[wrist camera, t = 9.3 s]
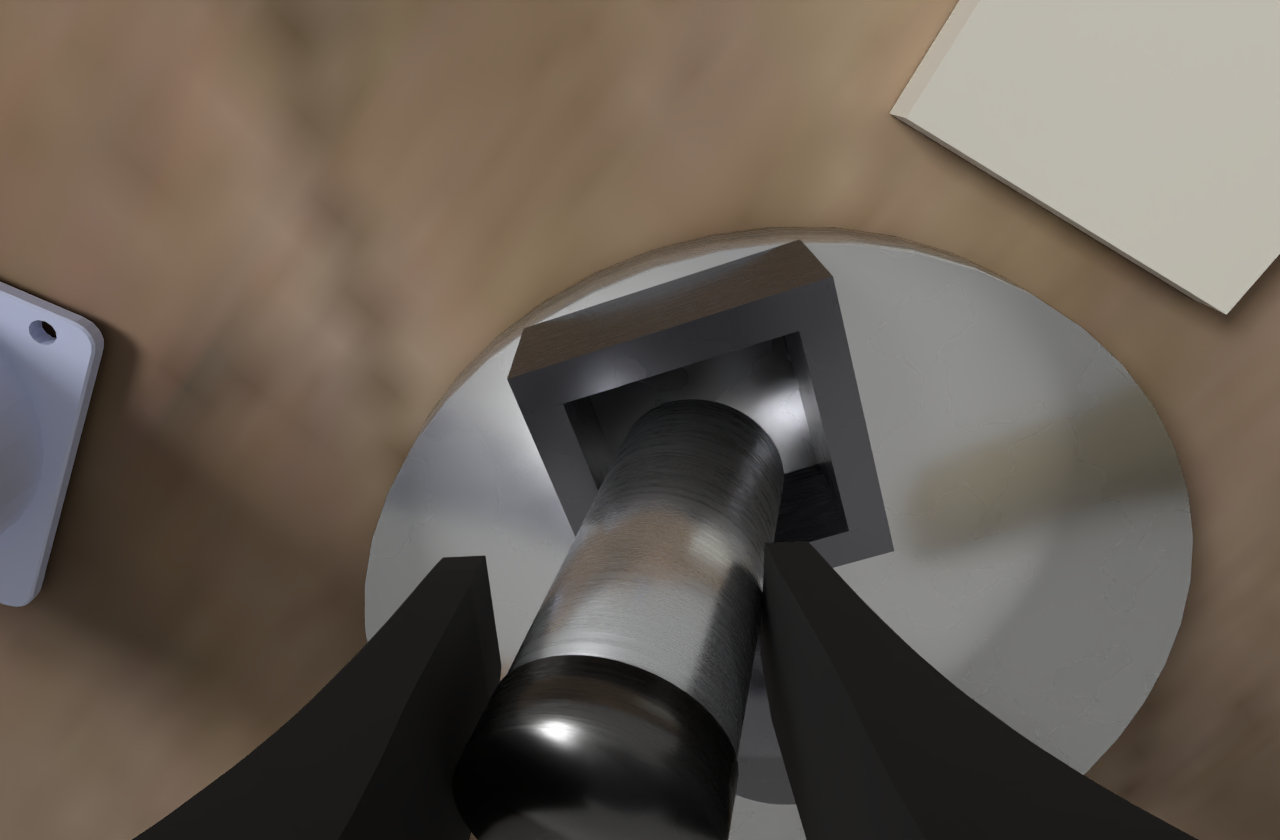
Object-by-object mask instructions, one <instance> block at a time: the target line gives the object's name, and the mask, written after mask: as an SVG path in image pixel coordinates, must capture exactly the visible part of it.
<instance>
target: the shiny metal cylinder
mask: <svg viewBox="0 0 1280 840" xmlns="http://www.w3.org/2000/svg"><path fill="white" fill-rule="evenodd" d="M783 482H784V470H783V465H782V460H781V457H780V454H779V452H778V450H777V448H776V446H775V444H774V442H773V441H772V439H771V438H770V436H769V435H768V434H767V433H766V432H765V431H764V429H763V428H762V427H761V426H760V425H759V424H757V423H756V422H755V421H754V420H753V419H751V418H750V417H748V416H747V415H745V414H744V413H742V412H740V411H738V410H736V409H734V408H732V407H730V406H727V405H725V404H721V403H718V402H714V401H709V400H702V399H683V400H676V401H671V402H667V403H664V404H662V405H659V406H657V407H655V408H653V409H651V410H649V411H648V412H646V413H645V414H643V415H642V416H641V417H640V418H639V419H638V420H637V421H636V422H635V423H634V424H633V426H632V427H631V428H630V430H629V432H628V433H627V435H626V437H625V439H624V441H623V443H622V445H621V447H620V449H619V451H618V453H617V455H616V457H615V459H614V461H613V463H612V465H611V467H610V469H609V471H608V473H607V475H606V477H605V479H604V481H603V483H602V485H601V487H600V489H599V491H598V493H597V495H596V497H595V499H594V501H593V503H592V505H591V507H590V509H589V511H588V513H587V515H586V517H585V519H584V521H583V523H582V525H581V527H580V529H579V531H578V533H577V535H576V537H575V539H574V541H573V543H572V545H571V547H570V549H569V551H568V553H567V555H566V557H565V559H564V561H563V563H562V565H561V567H560V569H559V571H558V573H557V575H556V577H555V579H554V581H553V583H552V585H551V587H550V589H549V591H548V593H547V595H546V597H545V599H544V601H543V603H542V605H541V607H540V609H539V611H538V613H537V615H536V617H535V619H534V621H533V623H532V625H531V627H530V629H529V631H528V633H527V635H526V637H525V639H524V641H523V643H522V645H521V647H520V649H519V651H518V653H517V655H516V657H515V659H514V661H513V663H512V665H511V667H510V669H509V671H508V673H507V675H506V676H505V677H504V678H503V679H502V680H501V681H500V682H499V684H498V685H497V686H496V688H495V690H494V692H493V693H492V695H491V697H490V699H489V701H488V703H487V705H486V707H485V709H484V711H483V713H482V715H481V717H480V719H479V721H478V723H477V725H476V727H475V729H474V731H473V733H472V735H471V737H470V739H469V741H468V743H467V745H466V747H465V749H464V751H463V753H462V755H461V757H460V758H459V760H458V762H457V764H456V766H455V770H454V773H453V780H452V789H453V796H454V800H455V803H456V806H457V809H458V811H459V813H460V815H461V817H462V819H463V821H464V822H465V824H466V825H467V826H468V828H469V829H470V831H471V832H472V833H473V835H474V836H475V837H476V838H477V839H478V840H728V839H729V833H730V827H731V820H732V814H733V808H734V802H735V796H736V790H737V783H738V776H739V771H738V761H737V757H738V751H739V745H740V739H741V733H742V727H743V721H744V716H745V710H746V704H747V698H748V692H749V686H750V680H751V674H752V668H753V662H754V656H755V650H756V644H757V638H758V632H759V626H760V620H761V614H762V607H763V572H764V545H765V543H774V537H775V531H776V525H777V519H778V513H779V507H780V501H781V495H782V489H783Z"/></svg>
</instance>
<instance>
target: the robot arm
mask: <svg viewBox="0 0 1280 840" xmlns="http://www.w3.org/2000/svg"><path fill="white" fill-rule="evenodd" d="M42 321H45V322H47V323H48V324H50V325H51V326H52V327H53V328H54V330H55V331H56V337H57V338H54V337H52V336H50V335H49V334H47V333H46V332H45V330H44V329H43V327H42ZM103 349H104V339H103V336H102V334H101V331H100V330H99V329H98V328H97V327H96V325H95V324H94V323H93V322H91V321H89V320H88V319H86V318H84V317H82V316H80V315H78V314H75V313H73V312H71V311H68V310H66V309H64V308H61V307H59V306H56V305H54V304H52V303H49V302H47V301H45V300H42V299H40V298H38V297H35V296H33V295H31V294H28V293H26V292H24V291H21V290H19V289H17V288H14V287H12V286H9V285H7V284H5V283H2V282H0V603H2V604H5V605H9V606H14V607H19V606H24V605H26V604H28V603H30V602H31V601H32V600H33V599H34V598H35V597H36V596H37V595H38V594H39V592H40V590H41V587H42V583H43V580H44V576H45V572H46V568H47V564H48V560H49V556H50V553H51V549H52V545H53V541H54V537H55V533H56V530H57V526H58V522H59V518H60V514H61V510H62V507H63V503H64V499H65V495H66V491H67V487H68V484H69V480H70V476H71V472H72V468H73V464H74V461H75V457H76V453H77V449H78V445H79V441H80V437H81V434H82V430H83V426H84V422H85V418H86V414H87V411H88V407H89V403H90V399H91V395H92V391H93V388H94V384H95V380H96V376H97V372H98V368H99V365H100V361H101V357H102V353H103ZM760 655H761V661H762V667H763V673H764V679H765V686H766V692H767V697H768V703H769V709H770V714H771V720H772V723H773V727H774V730H775V734H776V737H777V741H778V744H779V748H780V751H781V755H782V758H783V762H784V765H785V768H786V772H787V775H788V779H789V782H790V786H791V789H792V792H793V796H794V799H795V802H796V806H797V809H798V813H799V816H800V819H801V823H802V826H803V830H804V833H805V836H806V840H1198V839H1196V838H1194V837H1192V836H1190V835H1188V834H1187V833H1185V832H1183V831H1181V830H1179V829H1177V828H1176V827H1174V826H1172V825H1170V824H1168V823H1166V822H1164V821H1163V820H1161V819H1159V818H1157V817H1155V816H1153V815H1152V814H1150V813H1148V812H1146V811H1144V810H1142V809H1141V808H1139V807H1137V806H1135V805H1133V804H1131V803H1130V802H1128V801H1126V800H1125V799H1123V798H1121V797H1119V796H1118V795H1116V794H1114V793H1113V792H1111V791H1109V790H1107V789H1106V788H1104V787H1102V786H1101V785H1099V784H1097V783H1095V782H1094V781H1092V780H1090V779H1089V778H1087V777H1086V776H1084V775H1083V774H1081V773H1079V772H1078V771H1076V770H1075V769H1073V768H1072V767H1070V766H1068V765H1067V764H1065V763H1064V762H1062V761H1061V760H1059V759H1057V758H1056V757H1054V756H1053V755H1051V754H1050V753H1048V752H1046V751H1045V750H1043V749H1042V748H1040V747H1039V746H1037V745H1036V744H1034V743H1033V742H1031V741H1030V740H1028V739H1027V738H1025V737H1024V736H1022V735H1021V734H1020V733H1018V732H1017V731H1015V730H1014V729H1012V728H1011V727H1010V726H1008V725H1007V724H1005V723H1004V722H1003V721H1001V720H1000V719H999V718H997V717H996V716H995V715H993V714H992V713H991V712H989V711H988V710H987V709H985V708H984V707H983V706H981V705H980V704H978V703H977V702H976V701H974V700H973V699H972V698H970V697H969V696H968V695H966V694H965V693H964V692H963V691H961V690H960V689H959V688H958V687H956V686H955V685H954V684H953V683H951V682H950V681H949V680H948V679H947V678H945V677H944V676H943V675H942V674H941V673H940V672H938V671H937V670H936V669H935V668H934V667H933V666H932V665H930V664H929V663H928V662H927V661H926V660H925V659H923V658H922V657H921V656H920V655H919V654H918V653H917V652H916V651H915V650H913V649H912V648H911V647H910V646H909V645H908V644H907V643H906V642H905V641H904V640H903V639H902V638H901V637H900V636H899V635H898V634H896V633H895V632H894V631H893V630H892V629H891V628H890V627H889V626H888V625H887V624H886V623H885V622H884V621H883V620H882V619H881V618H880V617H879V616H878V615H877V614H876V613H875V612H874V611H873V610H872V609H871V608H870V607H869V606H868V605H867V604H866V603H865V602H864V601H863V600H862V599H861V598H860V597H859V596H858V595H857V594H856V593H855V591H854V590H853V589H852V588H851V587H850V586H849V585H848V584H847V583H846V582H845V581H844V580H843V579H842V578H841V576H840V575H839V574H838V573H837V572H836V571H835V570H834V569H833V568H832V567H831V566H830V564H829V563H828V562H827V561H826V560H825V559H824V558H823V557H822V556H821V555H820V553H819V552H818V551H817V550H816V549H815V548H814V547H813V546H812V545H811V544H810V543H809V542H808V541H797V542H775V543H765V545H764V572H763V607H762V625H761V651H760ZM501 667H502V666H501V659H500V652H499V645H498V638H497V631H496V625H495V618H494V611H493V604H492V597H491V590H490V583H489V576H488V570H487V563H486V556H463V557H443V558H442V559H441V560H440V561H439V562H438V563H437V564H436V565H435V566H434V567H433V568H432V570H431V571H430V572H429V573H428V574H427V575H426V577H425V578H424V579H423V580H422V581H421V582H420V584H419V585H418V586H417V587H416V588H415V589H414V591H413V592H412V593H411V594H410V595H409V596H408V598H407V599H406V600H405V601H404V602H403V603H402V605H401V606H400V607H399V608H398V609H397V610H396V611H395V613H394V614H393V615H392V616H391V617H390V618H389V619H388V621H387V622H386V623H385V624H384V625H383V626H382V627H381V628H380V629H379V630H378V632H377V633H376V634H375V635H374V636H373V637H372V638H371V639H370V640H369V641H368V643H367V644H366V645H365V646H364V647H363V648H362V649H361V650H360V651H359V652H358V653H357V655H356V656H355V657H354V658H353V659H352V660H351V661H350V662H349V663H348V664H347V665H346V666H345V667H344V668H343V669H342V670H341V671H340V672H339V673H338V674H337V675H336V676H335V677H334V678H333V679H332V680H331V681H330V682H329V683H328V684H327V685H326V686H325V687H324V688H323V689H322V690H321V691H320V692H319V693H318V694H317V695H316V696H315V697H314V698H313V699H312V700H311V701H310V702H309V703H308V704H307V705H305V706H304V707H303V708H302V709H301V710H300V711H299V712H298V713H297V714H296V715H295V716H294V717H292V718H291V719H290V720H289V721H288V722H287V723H286V724H284V725H283V726H282V727H281V728H280V729H279V730H278V731H276V732H275V733H274V734H273V735H272V736H270V737H269V738H268V739H267V740H266V741H264V742H263V743H262V744H261V745H260V746H258V747H257V748H256V749H255V750H254V751H252V752H251V753H250V754H249V755H248V756H246V757H245V758H244V759H243V760H241V761H240V762H239V763H238V764H236V765H235V766H234V767H233V768H231V769H230V770H229V771H227V772H226V773H225V774H223V775H222V776H220V777H219V778H218V779H216V780H215V781H214V782H212V783H211V784H210V785H208V786H207V787H206V788H204V789H203V790H201V791H200V792H199V793H197V794H196V795H195V796H193V797H192V798H191V799H189V800H188V801H187V802H185V803H184V804H182V805H181V806H180V807H178V808H177V809H176V810H174V811H173V812H172V813H170V814H169V815H168V816H166V817H165V818H163V819H162V820H161V821H159V822H158V823H156V824H155V825H153V826H152V827H150V828H149V829H147V830H146V831H144V832H143V833H141V834H140V835H138V836H137V837H135V838H134V839H132V840H469V839H470V835H471V831H470V829H469V828H468V826H467V825H466V824H465V822H464V821H463V819H462V817H461V815H460V813H459V811H458V809H457V806H456V803H455V800H454V796H453V789H452V780H453V773H454V770H455V766H456V764H457V762H458V760H459V758H460V757H461V755H462V753H463V751H464V749H465V747H466V745H467V743H468V741H469V739H470V737H471V735H472V733H473V731H474V729H475V727H476V725H477V723H478V721H479V719H480V717H481V715H482V713H483V711H484V709H485V707H486V705H487V703H488V701H489V699H490V697H491V695H492V693H493V692H494V690H495V688H496V686H497V685H498V684H499V682H500V676H501Z"/></svg>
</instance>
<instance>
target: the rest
mask: <svg viewBox="0 0 1280 840" xmlns="http://www.w3.org/2000/svg"><path fill="white" fill-rule="evenodd" d="M890 114H891V115H893V116H894V117H896V118H898V119H899V120H901V121H903V122H904V123H906V124H908V125H909V126H911V127H912V128H914V129H916V130H917V131H919V132H921V133H922V134H924V135H926V136H927V137H929V138H930V139H932V140H934V141H935V142H937V143H939V144H940V145H942V146H943V147H945V148H947V149H948V150H950V151H952V152H953V153H955V154H957V155H958V156H960V157H961V158H963V159H965V160H966V161H968V162H970V163H971V164H973V165H975V166H976V167H978V168H979V169H981V170H983V171H984V172H986V173H988V174H989V175H991V176H993V177H994V178H996V179H997V180H999V181H1001V182H1002V183H1004V184H1006V185H1007V186H1009V187H1010V188H1012V189H1014V190H1015V191H1017V192H1019V193H1020V194H1022V195H1024V196H1025V197H1027V198H1028V199H1030V200H1032V201H1033V202H1035V203H1037V204H1038V205H1040V206H1042V207H1043V208H1045V209H1046V210H1048V211H1050V212H1051V213H1053V214H1055V215H1056V216H1058V217H1060V218H1061V219H1063V220H1064V221H1066V222H1068V223H1069V224H1071V225H1073V226H1074V227H1076V228H1077V229H1079V230H1081V231H1082V232H1084V233H1086V234H1087V235H1089V236H1091V237H1092V238H1094V239H1095V240H1097V241H1099V242H1100V243H1102V244H1104V245H1105V246H1107V247H1109V248H1110V249H1112V250H1113V251H1115V252H1117V253H1118V254H1120V255H1122V256H1123V257H1125V258H1127V259H1128V260H1130V261H1131V262H1133V263H1135V264H1136V265H1138V266H1140V267H1141V268H1143V269H1145V270H1146V271H1148V272H1149V273H1151V274H1153V275H1154V276H1156V277H1158V278H1159V279H1161V280H1162V281H1164V282H1166V283H1167V284H1169V285H1171V286H1172V287H1174V288H1176V289H1177V290H1179V291H1180V292H1182V293H1184V294H1185V295H1187V296H1189V297H1190V298H1192V299H1194V300H1195V301H1198V302H1200V303H1202V304H1204V305H1206V306H1208V307H1211V308H1213V309H1215V310H1217V311H1219V312H1222V313H1224V314H1226V315H1227V314H1228V313H1229V311H1230V310H1231V309H1232V308H1233V307H1234V306H1235V305H1236V303H1237V302H1238V301H1239V300H1240V299H1241V298H1242V296H1243V295H1244V294H1245V293H1246V292H1247V291H1248V290H1249V288H1250V287H1251V286H1252V285H1253V284H1254V283H1255V282H1256V280H1257V279H1258V278H1259V277H1260V276H1261V275H1262V274H1263V272H1264V271H1265V270H1266V269H1267V268H1268V267H1269V266H1270V264H1271V263H1272V262H1273V261H1274V260H1275V259H1276V258H1277V256H1278V255H1279V254H1280V0H959V2H958V3H957V5H956V7H955V8H954V10H953V11H952V13H951V15H950V16H949V18H948V20H947V21H946V23H945V24H944V26H943V28H942V29H941V31H940V32H939V34H938V36H937V37H936V39H935V41H934V42H933V44H932V45H931V47H930V49H929V50H928V52H927V53H926V55H925V57H924V58H923V60H922V62H921V63H920V65H919V66H918V68H917V70H916V71H915V73H914V74H913V76H912V78H911V79H910V81H909V83H908V84H907V86H906V87H905V89H904V91H903V92H902V94H901V95H900V97H899V99H898V100H897V102H896V104H895V105H894V107H893V108H892V110H891V112H890Z"/></svg>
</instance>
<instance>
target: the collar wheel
mask: <svg viewBox="0 0 1280 840" xmlns="http://www.w3.org/2000/svg"><path fill="white" fill-rule="evenodd" d="M683 399H702V400H709V401H714V402H718V403H721V404H725V405H727V406H730V407H732V408H734V409H736V410H738V411H740V412H742V413H744V414H745V415H747V416H748V417H750V418H751V419H753V420H754V421H755V422H756V423H757V424H759V425H760V426H761V427H762V428H763V429H764V431H765V432H766V433H767V434H768V435H769V436H770V438H771V439H772V441H773V442H774V444H775V446H776V448H777V450H778V452H779V454H780V457H781V460H782V465H783V470H784V482H783V489H782V495H781V501H780V507H779V513H778V519H777V525H776V531H775V537H774V543H775V542H797V541H808V542H809V543H810V544H811V545H812V546H813V547H814V548H815V549H816V550H817V551H818V552H819V553H820V555H821V556H822V557H823V558H824V559H825V560H826V561H827V562H828V563H829V564H830V566H831V567H832V568H833V569H834V570H835V571H836V572H837V573H838V574H839V575H840V576H841V578H842V579H843V580H844V581H845V582H846V583H847V584H848V585H849V586H850V587H851V588H852V589H853V590H854V591H855V593H856V594H857V595H858V596H859V597H860V598H861V599H862V600H863V601H864V602H865V603H866V604H867V605H868V606H869V607H870V608H871V609H872V610H873V611H874V612H875V613H876V614H877V615H878V616H879V617H880V618H881V619H882V620H883V621H884V622H885V623H886V624H887V625H888V626H889V627H890V628H891V629H892V630H893V631H894V632H895V633H896V634H898V635H899V636H900V637H901V638H902V639H903V640H904V641H905V642H906V643H907V644H908V645H909V646H910V647H911V648H912V649H913V650H915V651H916V652H917V653H918V654H919V655H920V656H921V657H922V658H923V659H925V660H926V661H927V662H928V663H929V664H930V665H932V666H933V667H934V668H935V669H936V670H937V671H938V672H940V673H941V674H942V675H943V676H944V677H945V678H947V679H948V680H949V681H950V682H951V683H953V684H954V685H955V686H956V687H958V688H959V689H960V690H961V691H963V692H964V693H965V694H966V695H968V696H969V697H970V698H972V699H973V700H974V701H976V702H977V703H978V704H980V705H981V706H983V707H984V708H985V709H987V710H988V711H989V712H991V713H992V714H993V715H995V716H996V717H997V718H999V719H1000V720H1001V721H1003V722H1004V723H1005V724H1007V725H1008V726H1010V727H1011V728H1012V729H1014V730H1015V731H1017V732H1018V733H1020V734H1021V735H1022V736H1024V737H1025V738H1027V739H1028V740H1030V741H1031V742H1033V743H1034V744H1036V745H1037V746H1039V747H1040V748H1042V749H1043V750H1045V751H1046V752H1048V753H1050V754H1051V755H1053V756H1054V757H1056V758H1057V759H1059V760H1061V761H1062V762H1064V763H1065V764H1067V765H1068V766H1070V767H1072V768H1073V769H1075V770H1076V771H1078V772H1079V773H1081V774H1083V775H1084V774H1085V773H1086V772H1087V771H1088V770H1089V769H1090V768H1091V767H1092V766H1093V765H1094V764H1095V763H1096V762H1097V761H1098V759H1099V758H1100V757H1101V756H1102V755H1103V754H1104V753H1105V752H1106V751H1107V750H1108V749H1109V748H1110V747H1111V745H1112V744H1113V743H1114V742H1115V741H1116V740H1117V739H1118V738H1119V736H1120V735H1121V734H1122V732H1123V731H1124V730H1125V728H1126V727H1127V725H1128V724H1129V723H1130V721H1131V720H1132V719H1133V717H1134V716H1135V715H1136V713H1137V712H1138V710H1139V709H1140V708H1141V706H1142V705H1143V704H1144V702H1145V700H1146V698H1147V697H1148V695H1149V693H1150V691H1151V689H1152V688H1153V686H1154V684H1155V682H1156V680H1157V679H1158V677H1159V675H1160V673H1161V671H1162V670H1163V668H1164V666H1165V664H1166V661H1167V659H1168V656H1169V654H1170V651H1171V648H1172V646H1173V643H1174V641H1175V638H1176V635H1177V633H1178V630H1179V628H1180V625H1181V621H1182V617H1183V612H1184V608H1185V603H1186V599H1187V595H1188V590H1189V586H1190V580H1191V563H1192V547H1193V532H1192V523H1191V514H1190V506H1189V497H1188V491H1187V487H1186V484H1185V481H1184V477H1183V474H1182V471H1181V467H1180V464H1179V461H1178V457H1177V454H1176V450H1175V448H1174V446H1173V444H1172V442H1171V440H1170V438H1169V436H1168V434H1167V432H1166V430H1165V428H1164V426H1163V424H1162V422H1161V420H1160V418H1159V416H1158V414H1157V412H1156V410H1155V408H1154V406H1153V405H1152V403H1151V402H1150V401H1149V399H1148V398H1147V397H1146V395H1145V394H1144V393H1143V391H1142V390H1141V389H1140V387H1139V386H1138V385H1137V383H1136V382H1135V381H1134V380H1133V378H1132V377H1131V376H1130V374H1129V373H1128V372H1127V370H1126V369H1125V368H1124V366H1123V365H1122V364H1121V363H1120V362H1119V361H1118V360H1117V359H1116V358H1114V357H1113V356H1112V355H1111V354H1110V353H1109V352H1108V351H1107V350H1106V349H1105V348H1104V347H1103V346H1102V345H1100V344H1099V343H1098V342H1097V341H1096V340H1095V339H1094V338H1093V337H1092V336H1091V335H1090V334H1089V333H1088V332H1086V331H1085V330H1084V329H1083V328H1082V327H1080V326H1079V325H1077V324H1076V323H1074V322H1073V321H1071V320H1070V319H1068V318H1067V317H1065V316H1064V315H1062V314H1061V313H1059V312H1058V311H1056V310H1055V309H1053V308H1052V307H1050V306H1049V305H1047V304H1046V303H1044V302H1042V301H1041V300H1039V299H1038V298H1036V297H1035V296H1033V295H1032V294H1030V293H1029V292H1027V291H1025V290H1024V289H1022V288H1021V287H1019V286H1017V285H1016V284H1014V283H1013V282H1011V281H1009V280H1008V279H1006V278H1005V277H1003V276H1001V275H999V274H997V273H995V272H993V271H990V270H988V269H986V268H984V267H982V266H980V265H977V264H975V263H973V262H971V261H969V260H966V259H964V258H962V257H960V256H958V255H955V254H953V253H951V252H948V251H944V250H941V249H938V248H934V247H931V246H927V245H924V244H920V243H917V242H914V241H910V240H907V239H903V238H900V237H896V236H891V235H884V234H877V233H870V232H863V231H856V230H849V229H842V228H835V227H769V228H760V229H752V230H744V231H736V232H728V233H720V234H712V235H708V236H704V237H700V238H696V239H692V240H688V241H684V242H681V243H677V244H673V245H669V246H665V247H661V248H657V249H653V250H650V251H648V252H645V253H643V254H640V255H638V256H635V257H633V258H630V259H628V260H625V261H623V262H620V263H618V264H615V265H613V266H610V267H608V268H605V269H603V270H600V271H598V272H595V273H593V274H591V275H590V276H588V277H586V278H584V279H583V280H581V281H579V282H577V283H575V284H574V285H572V286H570V287H568V288H567V289H565V290H563V291H561V292H560V293H558V294H556V295H554V296H552V297H551V298H549V299H547V300H545V301H544V302H542V303H541V304H539V305H538V306H537V307H535V308H534V309H533V310H531V311H530V312H529V313H527V314H526V315H525V316H523V317H522V318H521V319H520V320H518V321H517V322H516V323H514V324H513V325H512V326H510V327H509V328H508V329H506V330H505V331H504V332H502V333H501V334H500V335H498V336H497V337H496V338H495V339H494V340H493V341H492V342H491V343H490V344H489V345H488V346H487V347H486V348H485V349H484V350H483V351H482V352H481V353H480V354H479V355H478V356H477V357H476V358H475V359H474V360H473V361H472V362H471V363H470V364H469V365H468V366H467V367H466V368H465V369H464V370H463V371H462V372H461V373H460V374H459V375H458V377H457V378H456V379H455V381H454V382H453V383H452V385H451V386H450V387H449V389H448V390H447V391H446V393H445V394H444V395H443V397H442V398H441V400H440V401H439V402H438V404H437V405H436V406H435V408H434V409H433V410H432V412H431V413H430V414H429V416H428V417H427V419H426V421H425V423H424V425H423V427H422V429H421V431H420V432H419V434H418V436H417V438H416V440H415V442H414V444H413V446H412V448H411V449H410V451H409V453H408V455H407V457H406V459H405V461H404V463H403V465H402V467H401V469H400V471H399V473H398V475H397V477H396V479H395V481H394V482H393V484H392V486H391V488H390V490H389V492H388V495H387V498H386V501H385V504H384V507H383V510H382V512H381V515H380V518H379V521H378V524H377V527H376V530H375V533H374V536H373V539H372V544H371V550H370V557H369V563H368V569H367V575H366V581H365V631H366V637H367V643H368V641H369V640H370V639H371V638H372V637H373V636H374V635H375V634H376V633H377V632H378V630H379V629H380V628H381V627H382V626H383V625H384V624H385V623H386V622H387V621H388V619H389V618H390V617H391V616H392V615H393V614H394V613H395V611H396V610H397V609H398V608H399V607H400V606H401V605H402V603H403V602H404V601H405V600H406V599H407V598H408V596H409V595H410V594H411V593H412V592H413V591H414V589H415V588H416V587H417V586H418V585H419V584H420V582H421V581H422V580H423V579H424V578H425V577H426V575H427V574H428V573H429V572H430V571H431V570H432V568H433V567H434V566H435V565H436V564H437V563H438V562H439V561H440V560H441V559H442V558H443V557H463V556H486V563H487V570H488V576H489V583H490V590H491V597H492V604H493V611H494V618H495V625H496V631H497V638H498V645H499V652H500V659H501V666H502V667H501V676H500V681H501V680H502V679H503V678H504V677H505V676H506V675H507V673H508V671H509V669H510V667H511V665H512V663H513V661H514V659H515V657H516V655H517V653H518V651H519V649H520V647H521V645H522V643H523V641H524V639H525V637H526V635H527V633H528V631H529V629H530V627H531V625H532V623H533V621H534V619H535V617H536V615H537V613H538V611H539V609H540V607H541V605H542V603H543V601H544V599H545V597H546V595H547V593H548V591H549V589H550V587H551V585H552V583H553V581H554V579H555V577H556V575H557V573H558V571H559V569H560V567H561V565H562V563H563V561H564V559H565V557H566V555H567V553H568V551H569V549H570V547H571V545H572V543H573V541H574V539H575V537H576V535H577V533H578V531H579V529H580V527H581V525H582V523H583V521H584V519H585V517H586V515H587V513H588V511H589V509H590V507H591V505H592V503H593V501H594V499H595V497H596V495H597V493H598V491H599V489H600V487H601V485H602V483H603V481H604V479H605V477H606V475H607V473H608V471H609V469H610V467H611V465H612V463H613V461H614V459H615V457H616V455H617V453H618V451H619V449H620V447H621V445H622V443H623V441H624V439H625V437H626V435H627V433H628V432H629V430H630V428H631V427H632V426H633V424H634V423H635V422H636V421H637V420H638V419H639V418H640V417H641V416H642V415H643V414H645V413H646V412H648V411H649V410H651V409H653V408H655V407H657V406H659V405H662V404H664V403H667V402H671V401H676V400H683ZM761 625H762V614H761V620H760V626H759V632H758V638H757V644H756V650H755V656H754V662H753V668H752V674H751V680H750V686H749V692H748V698H747V704H746V710H745V716H744V721H743V727H742V733H741V739H740V745H739V751H738V757H737V761H738V771H739V776H738V783H737V790H736V796H735V802H734V808H733V814H732V820H731V827H730V833H729V839H728V840H806V836H805V833H804V830H803V826H802V823H801V819H800V816H799V813H798V809H797V806H796V802H795V799H794V796H793V792H792V789H791V786H790V782H789V779H788V775H787V772H786V768H785V765H784V762H783V758H782V755H781V751H780V748H779V744H778V741H777V737H776V734H775V730H774V727H773V723H772V720H771V714H770V709H769V703H768V697H767V692H766V686H765V679H764V673H763V667H762V661H761V655H760V651H761Z"/></svg>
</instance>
